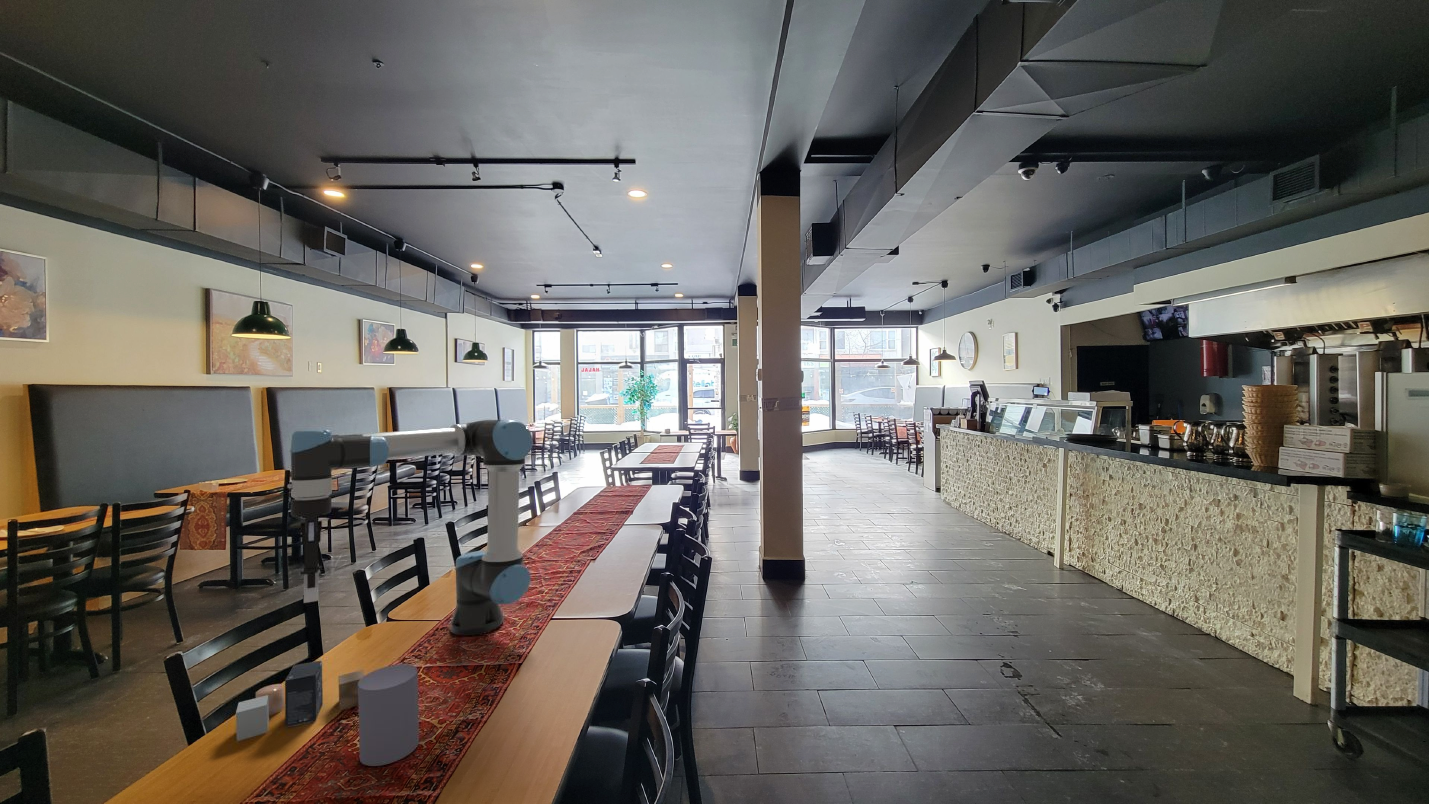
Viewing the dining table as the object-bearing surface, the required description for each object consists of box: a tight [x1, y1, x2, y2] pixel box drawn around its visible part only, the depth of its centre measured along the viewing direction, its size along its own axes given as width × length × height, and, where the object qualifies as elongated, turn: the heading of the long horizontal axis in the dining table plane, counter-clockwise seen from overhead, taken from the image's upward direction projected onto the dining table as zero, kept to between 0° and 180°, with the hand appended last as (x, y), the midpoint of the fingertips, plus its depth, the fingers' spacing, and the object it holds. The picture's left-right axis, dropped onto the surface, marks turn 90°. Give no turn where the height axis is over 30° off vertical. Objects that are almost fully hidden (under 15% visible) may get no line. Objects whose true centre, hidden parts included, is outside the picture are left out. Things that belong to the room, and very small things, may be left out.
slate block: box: [235, 695, 270, 742], centre depth 119 cm, size 5×5×6 cm
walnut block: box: [338, 669, 365, 711], centre depth 130 cm, size 5×5×6 cm
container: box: [358, 663, 420, 767], centre depth 111 cm, size 10×10×15 cm
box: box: [284, 660, 324, 728], centre depth 124 cm, size 8×6×11 cm
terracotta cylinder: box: [255, 683, 285, 717], centre depth 126 cm, size 5×5×5 cm
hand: (311, 600), depth 126 cm, fingers closed
